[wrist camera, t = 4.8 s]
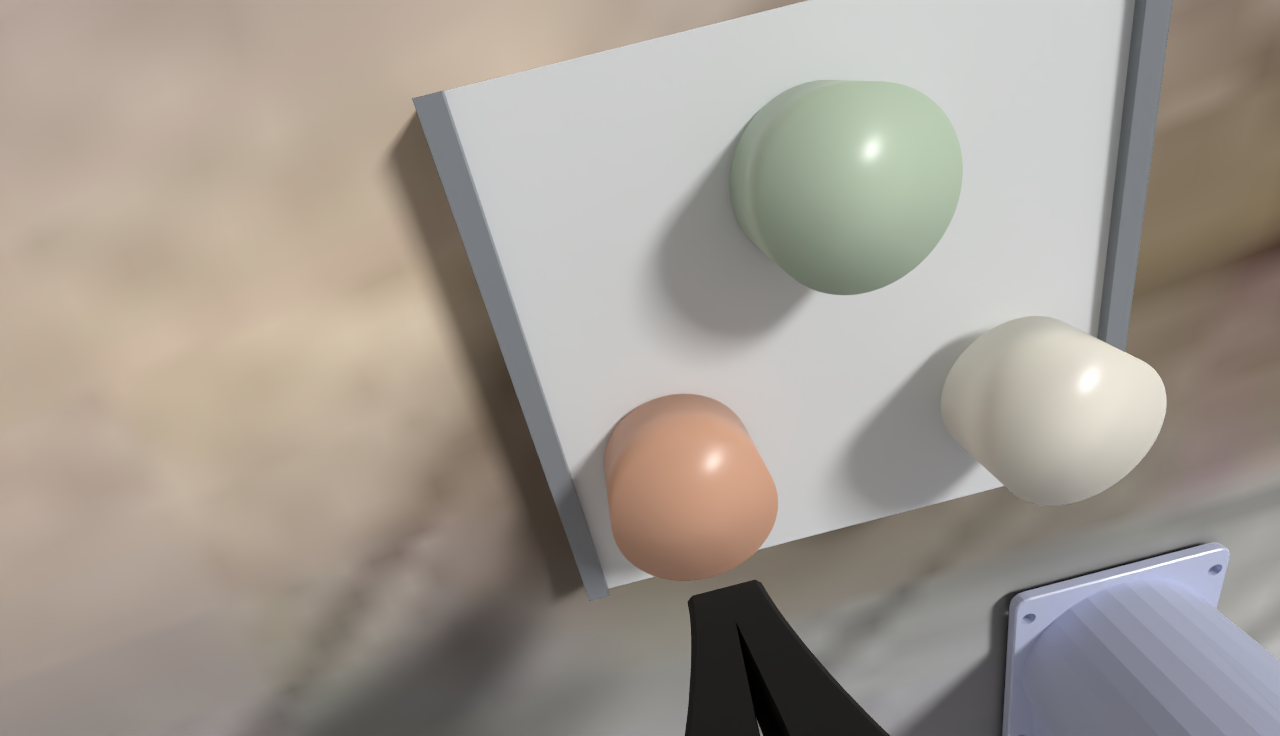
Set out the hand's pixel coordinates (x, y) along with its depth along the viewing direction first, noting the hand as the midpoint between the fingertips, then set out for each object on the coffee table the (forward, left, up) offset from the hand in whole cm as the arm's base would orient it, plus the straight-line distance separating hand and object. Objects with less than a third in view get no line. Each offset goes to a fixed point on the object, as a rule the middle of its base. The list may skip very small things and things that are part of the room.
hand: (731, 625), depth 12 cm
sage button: (+6, -4, -6) cm, 10 cm away
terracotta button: (0, 0, -6) cm, 6 cm away
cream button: (0, -9, -5) cm, 10 cm away
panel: (+3, -4, -7) cm, 9 cm away
